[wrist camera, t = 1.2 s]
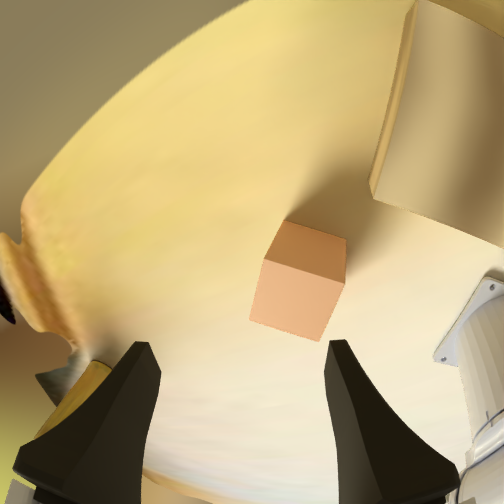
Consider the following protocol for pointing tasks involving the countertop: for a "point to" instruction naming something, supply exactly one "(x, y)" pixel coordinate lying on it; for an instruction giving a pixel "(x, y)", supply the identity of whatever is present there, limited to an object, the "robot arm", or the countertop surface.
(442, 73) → the beech block
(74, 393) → the vase
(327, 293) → the terracotta block
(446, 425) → the countertop surface
